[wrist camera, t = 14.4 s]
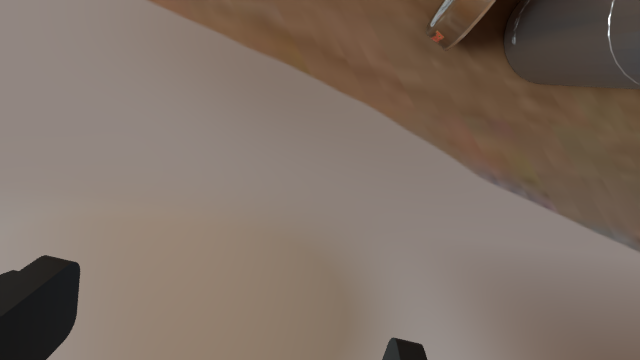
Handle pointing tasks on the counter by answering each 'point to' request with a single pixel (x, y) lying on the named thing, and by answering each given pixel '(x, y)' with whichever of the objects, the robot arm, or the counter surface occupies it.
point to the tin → (456, 20)
